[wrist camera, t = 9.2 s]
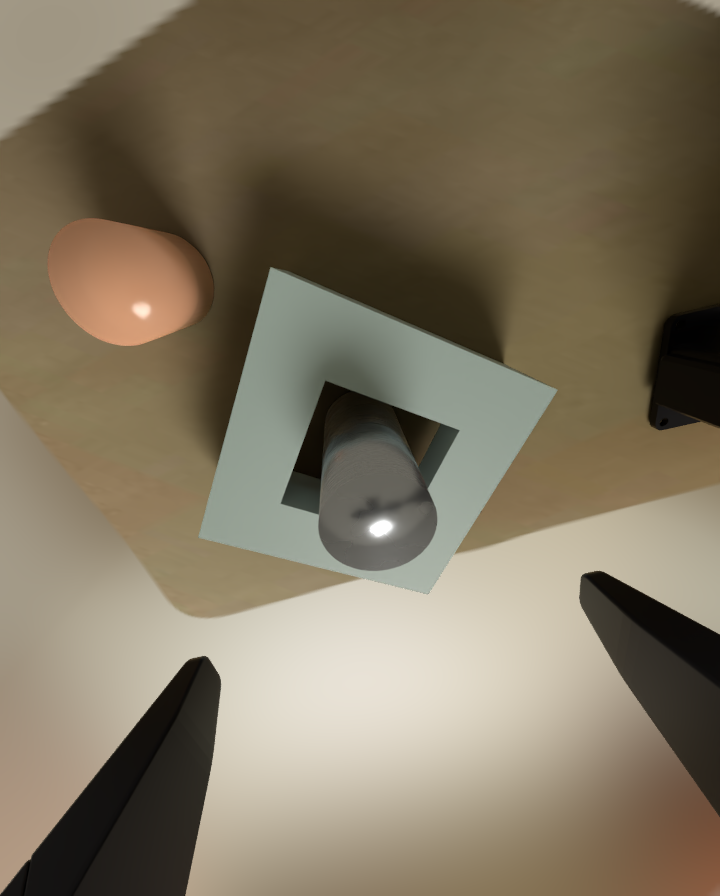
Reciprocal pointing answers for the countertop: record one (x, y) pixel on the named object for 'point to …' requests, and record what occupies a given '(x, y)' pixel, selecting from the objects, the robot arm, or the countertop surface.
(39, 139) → the countertop surface
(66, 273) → the terracotta stub
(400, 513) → the steel pin
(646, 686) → the robot arm
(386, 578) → the slate pin jig
